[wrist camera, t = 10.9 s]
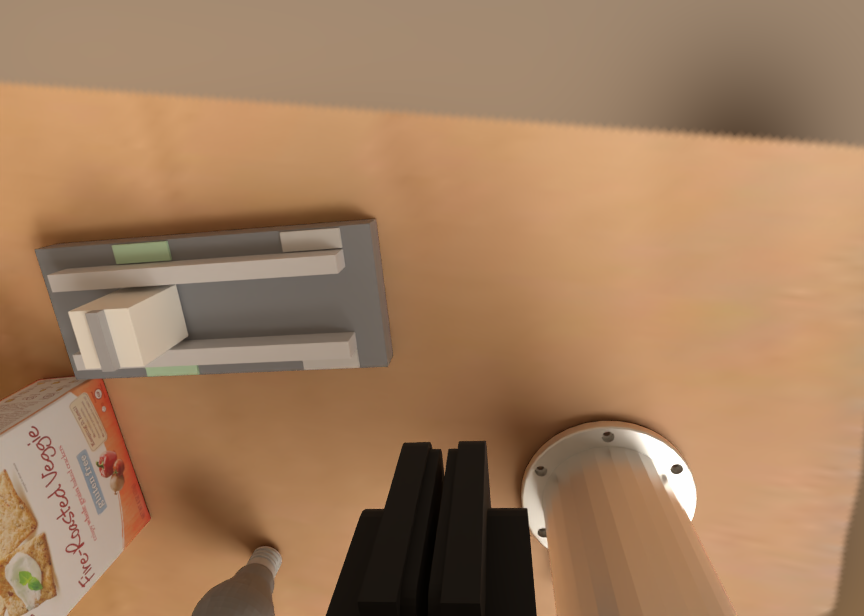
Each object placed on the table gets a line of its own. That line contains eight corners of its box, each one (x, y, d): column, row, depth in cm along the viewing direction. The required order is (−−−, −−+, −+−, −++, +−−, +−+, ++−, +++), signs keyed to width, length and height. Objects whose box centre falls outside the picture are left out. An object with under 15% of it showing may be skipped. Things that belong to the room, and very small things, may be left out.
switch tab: (188, 335, 39) (138, 370, 33) (136, 338, 39) (78, 372, 34) (175, 284, 38) (121, 311, 32) (122, 287, 38) (60, 315, 33)
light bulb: (264, 513, 46) (204, 613, 36) (317, 558, 47) (272, 667, 37) (222, 550, 48) (155, 655, 38) (273, 592, 49) (220, 705, 39)
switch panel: (393, 355, 40) (383, 377, 36) (94, 368, 43) (58, 390, 40) (375, 218, 37) (363, 228, 33) (56, 243, 40) (13, 255, 37)
